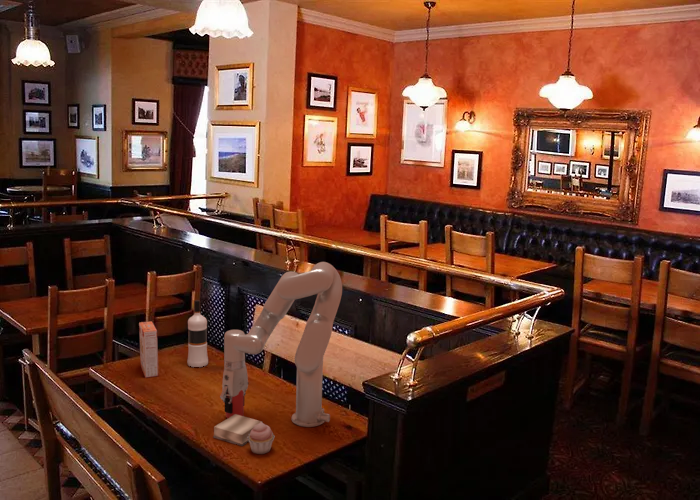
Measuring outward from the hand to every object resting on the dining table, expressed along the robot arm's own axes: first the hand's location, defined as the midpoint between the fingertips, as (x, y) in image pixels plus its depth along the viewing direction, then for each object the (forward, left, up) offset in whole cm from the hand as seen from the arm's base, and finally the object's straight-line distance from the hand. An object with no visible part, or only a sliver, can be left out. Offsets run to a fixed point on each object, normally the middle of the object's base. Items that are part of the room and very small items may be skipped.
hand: (234, 408), depth 245 cm
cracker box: (+59, -17, -3) cm, 61 cm away
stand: (-10, +11, -3) cm, 15 cm away
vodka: (+47, -35, -3) cm, 59 cm away
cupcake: (-23, +16, -3) cm, 28 cm away
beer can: (0, 0, -3) cm, 3 cm away
